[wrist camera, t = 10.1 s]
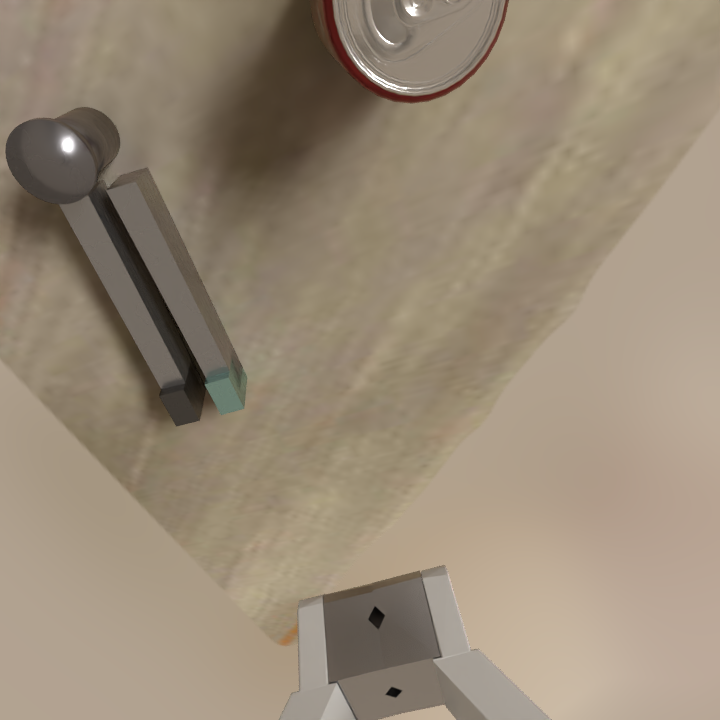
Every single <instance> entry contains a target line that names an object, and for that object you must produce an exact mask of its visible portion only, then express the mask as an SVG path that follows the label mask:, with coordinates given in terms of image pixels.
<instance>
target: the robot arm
mask: <svg viewBox="0 0 720 720" xmlns="http://www.w3.org/2000/svg"><path fill="white" fill-rule="evenodd" d="M421 576H422V577H421ZM297 617H298V660H299V691H297V692H293V693H292V694H291V696H290V698H289V700H288V702H287V704H286V706H285V708H284V710H283V712H282V714H281V716H280V719H279V720H378V719H382V718H386V717H389V716H393V715H397V714H401V713H405V712H411V711H415V710H420V709H425V708H430V707H435V706H440V705H446V707H447V708H448V710H449V711H450V712H451V713H452V715H453V716H454V717H455V718H456V720H551V719H550V718H549V717H548V716H547V715H546V714H545V713H544V712H543V711H542V710H541V709H540V708H539V707H538V706H537V705H536V704H535V703H534V702H533V701H532V700H531V699H530V698H529V697H528V696H527V695H526V694H525V693H524V692H523V691H521V689H519V687H517V685H515V684H514V683H513V682H512V681H511V680H510V679H509V678H508V677H507V676H506V675H505V674H504V673H503V672H502V671H501V670H500V669H499V668H498V667H497V666H496V665H495V664H494V663H493V662H492V661H491V660H490V659H489V658H488V657H487V656H486V655H485V654H484V653H482V652H481V651H480V649H474V650H471V649H470V645H469V642H468V638H467V635H466V631H465V628H464V625H463V621H462V618H461V614H460V611H459V607H458V604H457V601H456V597H455V594H454V590H453V587H452V584H451V581H450V577H449V573H448V571H447V568H446V566H445V565H442V566H439V567H434V568H430V569H426V570H422V571H421V574H420V571H417V572H413V573H409V574H405V575H401V576H397V577H394V578H390V579H386V580H382V581H378V582H375V583H371V584H367V585H363V586H360V587H355V588H351V589H347V590H343V591H338V592H334V593H330V594H324V595H320V596H316V597H312V598H308V599H304V600H300V601H299V605H298V610H297Z"/></svg>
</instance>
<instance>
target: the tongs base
mask: <svg viewBox="0 0 720 720" xmlns="http://www.w3.org/2000/svg"><path fill="white" fill-rule="evenodd" d="M119 148H120V137H119V133H118V131H117V129H116V127H115V125H114V124H113V122H112V121H111V120H110V119H109V118H108V117H107V116H106V115H105V114H103V113H102V112H100V111H98V110H96V109H93V108H88V107H81V108H76V109H74V110H72V111H70V112H68V113H66V114H63V115H61V116H59V117H57V118H55V119H51V118H36V119H32V120H29V121H26V122H24V123H22V124H20V125H18V126H17V127H16V128H15V129H14V130H13V131H12V132H11V134H10V135H9V137H8V140H7V143H6V159H7V163H8V166H9V168H10V170H11V172H12V174H13V176H14V177H15V179H16V180H17V181H18V182H19V184H20V185H21V186H22V187H23V188H24V189H25V190H27V191H28V192H29V193H31V194H32V195H34V196H35V197H37V198H39V199H41V200H44V201H46V202H50V203H54V204H59V206H60V208H61V209H62V211H63V213H64V215H65V217H66V218H67V220H68V222H69V224H70V226H71V227H72V229H73V231H74V233H75V235H76V236H77V238H78V240H79V242H80V244H81V245H82V247H83V249H84V251H85V253H86V254H87V256H88V258H89V260H90V262H91V263H92V265H93V267H94V269H95V271H96V272H97V274H98V276H99V278H100V280H101V281H102V283H103V285H104V287H105V289H106V290H107V292H108V294H109V296H110V298H111V299H112V301H113V303H114V305H115V307H116V308H117V310H118V312H119V314H120V316H121V317H122V319H123V321H124V323H125V325H126V326H127V328H128V330H129V332H130V334H131V335H132V337H133V339H134V341H135V343H136V344H137V346H138V348H139V350H140V352H141V353H142V355H143V357H144V359H145V361H146V362H147V364H148V366H149V368H150V370H151V371H152V373H153V375H154V377H155V379H156V380H157V382H158V384H159V386H160V388H161V392H160V395H159V396H160V398H161V400H162V402H163V404H164V405H165V407H166V409H167V411H168V412H169V414H170V416H171V418H172V419H173V421H174V423H175V425H176V426H180V425H184V424H188V423H192V422H196V421H200V416H201V411H202V406H203V401H204V396H205V391H206V387H205V385H204V383H203V381H202V379H201V377H200V375H199V373H198V371H197V369H196V367H195V365H194V363H193V361H192V359H191V357H190V355H189V353H188V351H187V349H186V347H185V345H184V342H183V340H182V338H181V336H180V334H179V332H178V330H177V328H176V326H175V324H174V322H173V320H172V318H171V316H170V314H169V312H168V310H167V308H166V306H165V304H164V302H163V300H162V298H161V296H160V294H159V292H158V290H157V287H156V285H155V283H154V281H153V279H152V277H151V275H150V273H149V271H148V269H147V267H146V265H145V263H144V261H143V259H142V257H141V255H140V253H139V251H138V249H137V247H136V246H135V244H134V242H133V240H132V238H131V236H130V234H129V232H128V231H127V229H126V227H125V225H124V223H123V221H122V219H121V217H120V216H119V214H118V212H117V210H116V208H115V206H114V204H113V202H112V201H111V199H110V197H109V195H108V193H107V191H106V190H107V189H108V188H107V186H106V184H105V182H104V180H103V181H99V182H97V178H98V172H99V171H101V170H102V169H103V168H104V167H105V166H106V165H107V164H108V163H109V162H111V161H112V160H113V159H114V158H115V157H116V155H117V154H118V152H119Z"/></svg>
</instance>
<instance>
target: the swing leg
mask: <svg viewBox="0 0 720 720" xmlns="http://www.w3.org/2000/svg"><path fill="white" fill-rule="evenodd" d="M106 191H107V193H108V195H109V197H110V199H111V201H112V202H113V204H114V206H115V208H116V210H117V212H118V214H119V216H120V217H121V219H122V221H123V223H124V225H125V227H126V229H127V231H128V232H129V234H130V236H131V238H132V240H133V242H134V244H135V246H136V247H137V249H138V251H139V253H140V255H141V257H142V259H143V261H144V262H145V264H146V266H147V268H148V270H149V272H150V274H151V276H152V277H153V279H154V281H155V283H156V285H157V287H158V289H159V291H160V293H161V294H162V296H163V298H164V300H165V302H166V304H167V306H168V308H169V309H170V311H171V313H172V315H173V317H174V319H175V321H176V323H177V324H178V326H179V328H180V330H181V332H182V334H183V336H184V338H185V339H186V341H187V343H188V345H189V347H190V349H191V351H192V353H193V354H194V356H195V358H196V360H197V362H198V364H199V366H200V368H201V369H202V371H203V373H204V375H205V377H206V380H205V386H206V388H207V390H208V392H209V393H210V395H211V397H212V399H213V401H214V403H215V405H216V406H217V408H218V410H219V412H220V414H221V415H223V414H226V413H230V412H234V411H237V410H241V409H244V405H245V394H246V384H247V376H246V374H245V372H244V370H243V367H242V365H241V363H240V361H239V359H238V357H237V355H236V353H235V351H234V348H233V346H232V344H231V342H230V340H229V338H228V336H227V334H226V332H225V329H224V327H223V325H222V323H221V321H220V319H219V317H218V315H217V313H216V311H215V308H214V306H213V304H212V302H211V300H210V298H209V296H208V294H207V292H206V289H205V287H204V285H203V283H202V281H201V279H200V277H199V275H198V273H197V270H196V268H195V266H194V264H193V262H192V260H191V258H190V256H189V254H188V251H187V249H186V247H185V245H184V243H183V241H182V239H181V237H180V235H179V232H178V230H177V228H176V226H175V224H174V222H173V220H172V218H171V216H170V213H169V211H168V209H167V207H166V205H165V203H164V201H163V199H162V197H161V194H160V192H159V190H158V188H157V186H156V184H155V182H154V180H153V178H152V175H151V173H150V171H149V169H148V168H144V169H141V170H138V171H134V172H131V173H128V174H124V175H121V176H120V177H119V178H118V179H117V180H116V181H115V182H114V183H113V184H112V185H111V186H110V187H109V188H108V189H107V190H106Z"/></svg>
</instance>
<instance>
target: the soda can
mask: <svg viewBox="0 0 720 720" xmlns="http://www.w3.org/2000/svg"><path fill="white" fill-rule="evenodd" d="M508 2H509V0H310V7H311V15H312V19H313V22H314V26H315V29H316V32H317V34H318V36H319V38H320V40H321V42H322V44H323V45H324V47H325V48H326V49H327V51H328V52H329V53H330V55H331V56H332V57H333V58H334V59H335V60H336V61H337V62H338V63H339V64H340V65H341V66H342V67H343V68H344V69H345V70H346V71H347V72H348V73H349V74H350V75H351V76H352V77H353V78H354V79H355V80H356V81H357V82H358V83H360V84H361V85H362V86H363V87H364V88H365V89H367V90H369V91H371V92H372V93H374V94H376V95H377V96H379V97H382V98H385V99H388V100H391V101H394V102H402V103H419V102H427V101H431V100H433V99H436V98H439V97H442V96H445V95H446V94H448V93H450V92H452V91H453V90H455V89H457V88H458V87H460V86H461V85H462V84H463V83H465V82H466V81H467V80H468V79H469V78H470V77H471V76H473V75H474V74H475V73H476V71H477V70H478V69H479V68H480V66H481V65H482V64H483V63H484V61H485V60H486V59H487V57H488V56H489V54H490V52H491V50H492V48H493V47H494V45H495V43H496V41H497V39H498V37H499V34H500V31H501V29H502V26H503V23H504V21H505V16H506V12H507V7H508Z"/></svg>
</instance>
